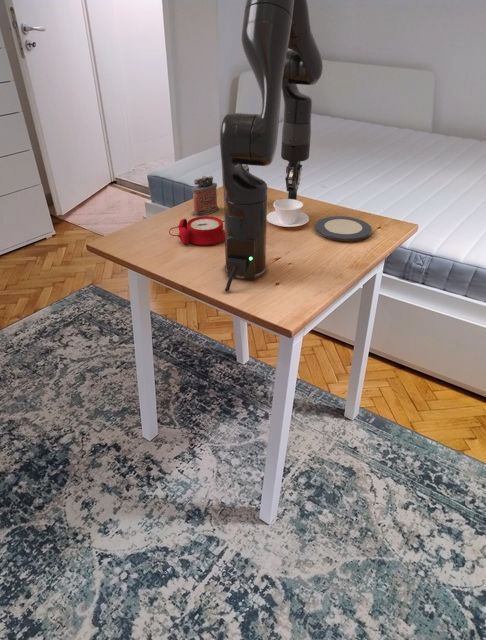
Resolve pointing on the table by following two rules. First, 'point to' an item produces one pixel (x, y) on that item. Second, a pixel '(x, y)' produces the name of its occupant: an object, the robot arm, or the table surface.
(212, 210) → the lighter
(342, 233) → the plate
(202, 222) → the alarm clock
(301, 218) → the teacup
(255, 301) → the table surface
